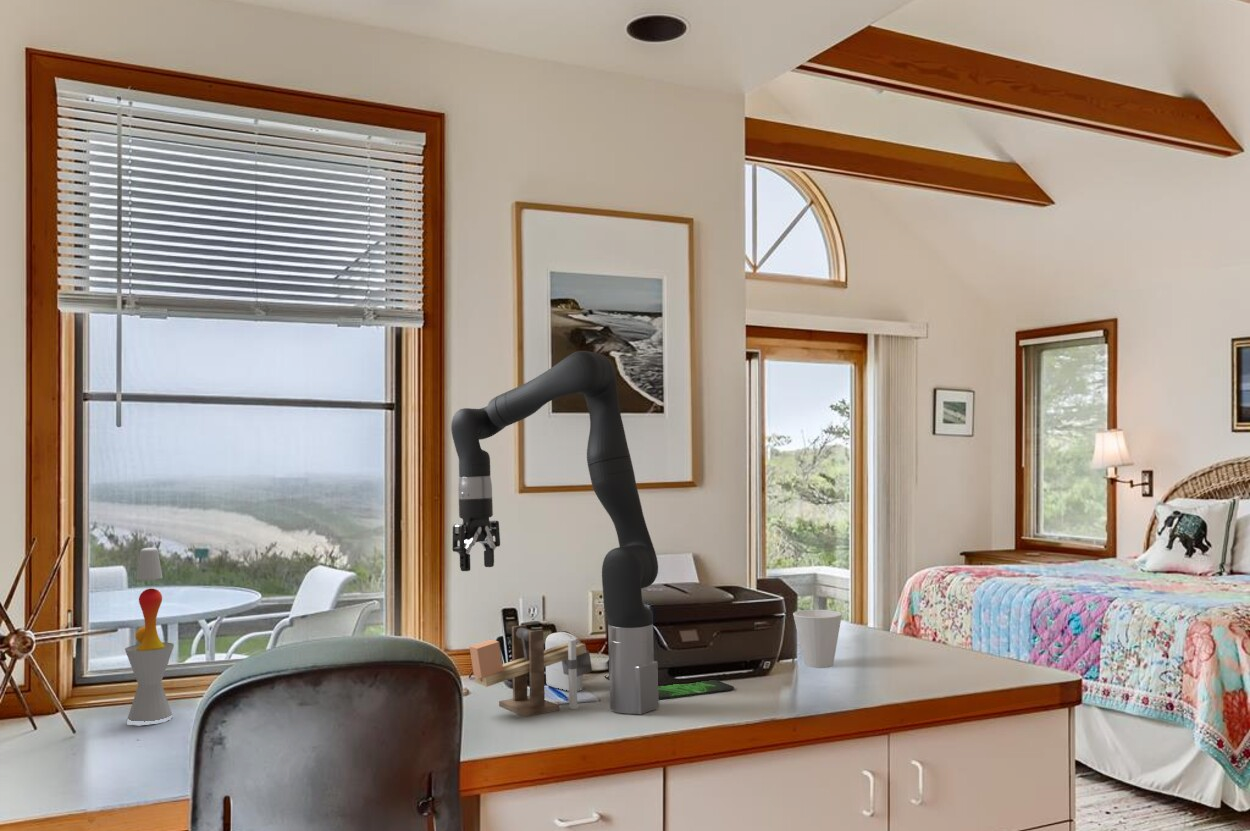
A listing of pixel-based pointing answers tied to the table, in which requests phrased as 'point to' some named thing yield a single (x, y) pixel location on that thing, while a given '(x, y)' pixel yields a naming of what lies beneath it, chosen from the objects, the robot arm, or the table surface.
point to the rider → (486, 658)
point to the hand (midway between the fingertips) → (477, 568)
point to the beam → (550, 658)
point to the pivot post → (536, 673)
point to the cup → (818, 636)
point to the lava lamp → (149, 648)
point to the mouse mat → (691, 689)
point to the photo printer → (559, 663)
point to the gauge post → (572, 673)
